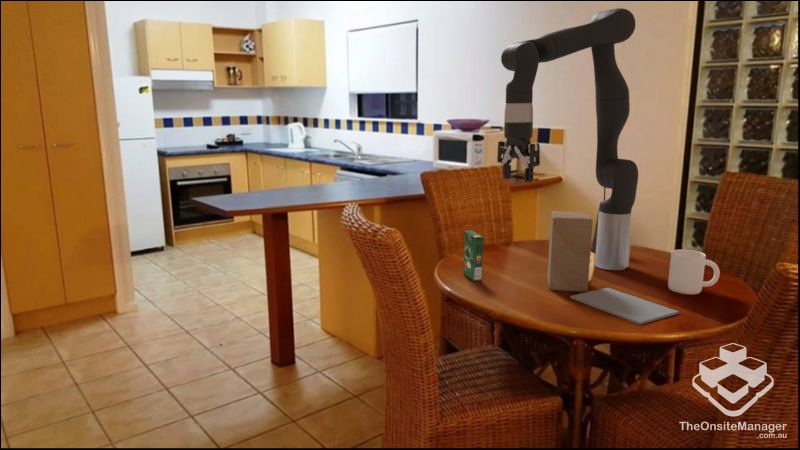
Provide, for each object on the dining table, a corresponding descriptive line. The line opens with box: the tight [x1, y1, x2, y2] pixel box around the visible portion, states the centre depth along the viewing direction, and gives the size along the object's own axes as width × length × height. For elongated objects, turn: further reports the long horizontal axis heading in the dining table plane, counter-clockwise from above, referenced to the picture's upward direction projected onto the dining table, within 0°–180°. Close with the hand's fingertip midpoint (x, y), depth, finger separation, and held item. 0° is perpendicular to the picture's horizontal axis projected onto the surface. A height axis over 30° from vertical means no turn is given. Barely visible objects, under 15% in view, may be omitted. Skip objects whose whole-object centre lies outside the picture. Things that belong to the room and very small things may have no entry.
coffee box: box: [462, 230, 485, 282], centre depth 164 cm, size 8×3×13 cm, turn 16°
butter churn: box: [591, 187, 607, 253], centre depth 192 cm, size 9×10×28 cm
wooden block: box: [547, 210, 594, 293], centre depth 156 cm, size 10×10×20 cm
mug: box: [667, 249, 721, 295], centre depth 153 cm, size 12×8×10 cm
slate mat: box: [569, 287, 680, 325], centre depth 143 cm, size 14×21×1 cm, turn 30°
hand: (517, 180), depth 158 cm, fingers open, 8 cm apart
